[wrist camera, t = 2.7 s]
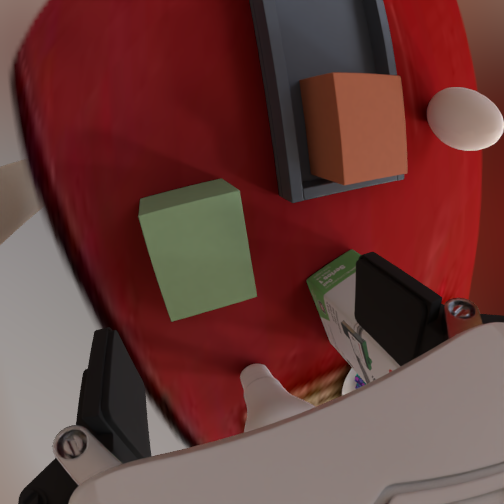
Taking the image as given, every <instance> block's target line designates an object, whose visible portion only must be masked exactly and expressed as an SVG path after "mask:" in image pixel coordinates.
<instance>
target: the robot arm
mask: <svg viewBox="0 0 504 504" xmlns="http://www.w3.org/2000/svg"><path fill="white" fill-rule="evenodd" d="M441 301H442V297H441V296H439V295H438V294H436V293H435V292H433V291H432V290H431V289H429V288H428V287H426V286H425V285H423V284H422V283H420V282H419V281H417V280H416V279H414V278H413V277H411V276H410V275H408V274H407V273H405V272H404V271H402V270H401V269H399V268H398V267H396V266H395V265H393V264H392V263H390V262H389V261H387V260H385V259H384V258H382V257H381V256H379V255H378V254H376V253H374V252H370V253H367V254H364V255H361V256H360V257H359V259H358V260H357V261H356V282H355V311H354V316H355V319H356V321H357V323H358V324H359V325H360V326H361V327H362V328H363V329H364V330H365V331H366V332H367V333H368V334H369V335H370V336H371V337H372V338H373V339H374V340H375V341H376V342H377V343H378V344H379V345H380V346H381V347H382V348H383V349H384V350H385V351H386V352H387V353H388V354H389V355H390V356H391V357H392V358H393V359H394V360H395V361H396V362H397V363H398V364H399V365H400V366H401V367H399V368H397V369H395V370H393V371H391V372H390V373H388V374H386V375H384V376H382V377H380V378H378V379H376V380H374V381H372V382H370V383H368V384H366V385H364V386H362V387H359V388H357V389H355V390H353V391H351V392H349V393H347V394H344V395H342V396H340V397H338V398H335V399H333V400H331V401H329V402H326V403H324V404H321V405H319V406H317V407H314V408H312V409H309V410H307V411H304V412H302V413H299V414H297V415H294V416H291V417H289V418H286V419H283V420H280V421H278V422H275V423H272V424H269V425H266V426H263V427H260V428H257V429H254V430H251V431H248V432H245V433H241V434H238V435H235V436H231V437H228V438H224V439H221V440H217V441H214V442H210V443H206V444H202V445H198V446H195V447H191V448H187V449H182V450H178V451H174V452H170V453H165V454H160V455H156V456H152V457H151V450H150V441H149V431H148V421H147V410H146V395H145V387H144V383H143V381H142V379H141V377H140V375H139V374H138V372H137V370H136V368H135V366H134V364H133V362H132V360H131V358H130V356H129V354H128V352H127V350H126V348H125V346H124V344H123V342H122V340H121V338H120V336H119V334H118V332H117V331H116V330H113V331H112V329H111V328H109V327H108V328H104V329H100V330H96V331H95V332H94V337H93V342H92V348H91V353H90V359H89V365H88V369H86V370H85V371H84V373H83V377H82V384H81V390H80V397H79V405H78V413H77V422H76V425H72V426H69V427H66V428H64V429H63V430H61V431H60V432H59V433H58V434H57V436H56V437H55V439H54V442H53V452H54V455H55V457H56V458H55V460H53V461H52V462H51V463H50V464H49V465H48V466H47V467H46V468H45V469H44V470H43V471H42V472H41V473H40V474H39V475H38V476H37V477H36V478H35V479H34V480H33V481H32V482H31V483H29V484H28V485H27V486H26V487H25V488H24V490H23V491H22V492H21V494H20V497H19V503H18V504H504V316H500V315H487V314H480V312H479V309H478V307H477V306H476V305H475V304H474V303H473V302H471V301H470V300H467V299H464V298H453V299H450V300H448V301H447V302H446V303H445V305H443V304H441Z"/></svg>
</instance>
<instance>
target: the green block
mask: <svg viewBox="0 0 504 504" xmlns="http://www.w3.org/2000/svg"><path fill="white" fill-rule="evenodd" d="M138 217H139V221H140V225H141V228H142V232H143V235H144V239H145V242H146V246H147V249H148V252H149V256H150V259H151V262H152V265H153V269H154V272H155V275H156V278H157V281H158V284H159V287H160V290H161V293H162V296H163V299H164V302H165V305H166V308H167V311H168V313H169V316H170V319H171V321H176V320H179V319H183V318H187V317H190V316H194V315H197V314H200V313H204V312H207V311H211V310H214V309H218V308H221V307H224V306H228V305H231V304H234V303H238V302H241V301H244V300H247V299H251V298H254V297H257V293H256V287H255V281H254V275H253V269H252V263H251V257H250V251H249V245H248V239H247V233H246V227H245V220H244V214H243V208H242V202H241V196H240V191H239V190H238V189H237V188H235V187H234V186H232V185H231V184H229V183H228V182H226V181H225V180H223V179H217V180H213V181H208V182H204V183H200V184H196V185H191V186H187V187H183V188H179V189H175V190H171V191H168V192H164V193H160V194H156V195H152V196H149V197H145V198H141V199H140V205H139V215H138Z"/></svg>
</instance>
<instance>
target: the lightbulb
mask: <svg viewBox="0 0 504 504" xmlns="http://www.w3.org/2000/svg"><path fill="white" fill-rule="evenodd" d="M240 380H241V383H242V386H243V389H244V399H245V402H246V405H247V420H246V424H245V429H244V433H245V432H248V431H251V430H254V429H257V428H260V427H263V426H266V425H269V424H272V423H275V422H278V421H280V420H283V419H286V418H289V417H291V416H294V415H297V414H299V413H302V412H304V411H307V410H309V409H312V408H314V407H315V406H314V405H312V404H310V403H308V402H306V401H304V400H302V399H300V398H298V397H295V396H293V395H291V394H290V393H288V392H287V391H286V390H285V389H284V388H283V386H282V385H281V383H280V382H279V381H278V380H277V379H275V378H274V377H273V376H272V374H271V373H270V371H269V370H268V368H267V367H266V366H265V365H263V364H258V363H256V364H251V365H249V366H247V367H246V368H245V369H244V370H243V371H242V372H241V375H240Z"/></svg>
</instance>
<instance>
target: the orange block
mask: <svg viewBox="0 0 504 504" xmlns="http://www.w3.org/2000/svg"><path fill="white" fill-rule="evenodd" d="M299 83H300V90H301V97H302V104H303V112H304V119H305V127H306V135H307V144H308V153H309V162H310V172H311V174H312V175H315V176H318V177H321V178H324V179H327V180H330V181H333V182H336V183H339V184H342V185H349V184H354V183H359V182H364V181H369V180H375V179H380V178H385V177H390V176H396V175H401V174H407V145H406V127H405V114H404V103H403V93H402V84H401V77H400V76H396V75H385V74H370V73H345V72H332V73H327V74H323V75H318V76H314V77H310V78H306V79H302V80H299Z"/></svg>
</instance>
